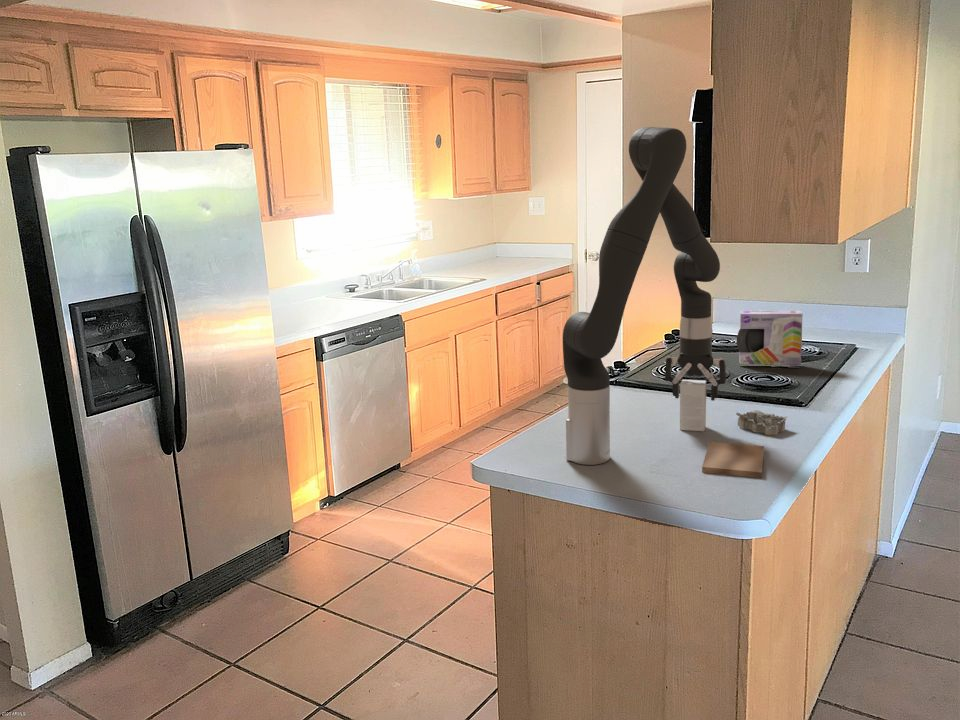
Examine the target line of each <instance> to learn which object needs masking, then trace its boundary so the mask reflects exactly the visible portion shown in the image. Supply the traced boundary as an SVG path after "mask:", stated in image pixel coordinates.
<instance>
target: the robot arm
mask: <svg viewBox="0 0 960 720" xmlns="http://www.w3.org/2000/svg"><path fill="white" fill-rule="evenodd" d="M686 153H687V139H686V137H685V134H684V132H682V130H680V129H679V128H674V127H673V128H672V127H658V126H657V127H656V126H646V127H641V128H639V129H637V130H636V131H635V132H633V134H632V136H630V140H629V144H628V154H629V159H630V161H631V163H632V165H633V167H634V169H635V171H636V173H637V174H638V176H639V177H640V179H641V181H642V183H641V184H640V187H639V188H638V190H637V191H636V192H635V194H634V195H633V196H632V197H631V198H630V199H629V200H628V201H627V202H626V203H625V205H623V206H622V208H621V209H620V210H619V211H617V213H616V214H615V215H614V217H613V218H612V220H611V221H610V223H609V225H608V227H607V230H606V233H605V235H604V237H603V241H602V244H601V247H600V249H599V254H598V255H599V257H598V288H597V289H598V290H597V294H596V297H595V300H594V303H593V304H592V305H593V306H592V308H591V311H590V312H586V311H578V312H575V313H574V314H572V315H571V316H570V317H568V318H567V320H566V322H565V323H564V326H563V331H562V355H563V367H564V369H563V370H564V373H565V375H566V378H567V399H568V401H567V405H568V407H567V409H568V416H567V419H565V441H566V442H565V444H566V445H565V446H566V447H565V450H566V451H565V452H566V458H565V459H566V461H571V462H573V463H575V464H579V465H588V466H589V465H590V466H592V465H593V466H595V465H600V464H605V463H607V462H608V461H609V460H610V459H611V458H610V457H611V435H610V434H611V414H610V413H611V410H610V409H611V408H610V407H611V405H610V404H611V403H610V402H611V400H610V399H611V397H610V395H611V393H610V391H611V389H610V388H611V386H610V385H611V384H610V383H611V382H610V381H611V380H610V379H611V377H610V373H609V371H608V370H607V368H606V366H605V365H604V362H603V361H602V359H603V358H605V357H606V356H607V355H609V354H610V353H611V352H612V350H613V348H614V347H615V344H616V342H617V339H618V336H619V331H620V329H621V324H622V320H623V316H624V313H625V309H626V306H627V305H626V304H627V302H628V300H629V297H630V294H631V291H632V288H633V285H634V282H635V280H636V277H637V274H638V271H639V268H640V265H641V263H642V261H643V259H644V256H645V253H646V251H647V247H648V244H649V243H650V240H651V236H652V232H653V231H654V228H655V225H656V223H657V220H658V218H659V215H660V216H661V219H662V221H663V223H664V225H665V228H666V230H667V234H668V236H669V239H670V242H671V244H672V247H673V248H674V249H675V250H676V251H678V252H679V253H678V254H677V255H676V257H675V258H674V259H675V260H674V261H673V262H674V263H673V274H674V278H675V281H676V285H677V289H678V293H679V296H680V321H679V356H678V357H677V356H675V357H674V356H672V355H667V358H666V359H665V371H664V372H665V374H664V380H665V381H666V382H669V383H671V384H672V395H673V397H674V398H675V399H679V398H680V380H681V379H682V378H683V377H684V376H685V375H688V376H697V377H702V376H704V377H705V379H707V380H708V381H709V382H710V383H711V386H710V388H711V389H710V396H711V398H710V401H713V402H714V401H715V399H717V398H718V395H719V385H725V384H726V381H727V371H726V370H727V369H726V368H727V367H726V358H725V357H720V358H713V320H712V301H713V300H712V295H711V293H710V292H708V291H706V290H704V289H701V288H700V287H699V286H698V283H697V282H702V283H708V282H712V281H714V280H715V279H717V277H718V276H719V273H720V269H721V263H720V258H719V256H718V254H717V252H716V250H715V249H714V248H713V246H712V244H711V243H710V242H709V240H708V239H707V237H705V235H704V234H703V232H702V230H701V226H700V223H699V220H698V217H697V215H696V212H695V210H694V209H693V206H692V205H691V204H690V202H689V201H688V200H687V198H686V197H685V196H684V195H683V194H682V192H681V191H680V189H679V188H678V187H676V185H675V184H674V182H675V180H676V178H677V176H678V173H679V172H680V170H681V167H682V165H683V163H684V160H685V156H686ZM676 363H677V364H678V365H679V367H680V368H681V369H680V370H679V371H678V373H676V375H675V376H674V375H672V373H673V371H672V370H673V367H674V366H675V365H676ZM714 365H715V366H716V368H717V369H719V377H717V376H716V375H715V374H714V372H713V370H712V369H711V367H712V366H714Z"/></svg>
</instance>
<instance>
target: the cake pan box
mask: <svg viewBox="0 0 960 720" xmlns="http://www.w3.org/2000/svg"><path fill="white" fill-rule="evenodd" d="M739 312H740V313H739V329H738V332H737V336H736V346H737V349H738V352H739V356H738V357H739V358H738V359H739V361H738V363H740V364H764V365H790V366H798V365H799V366H800V365H801V366H802V345H803V312H802V310H779V309H778V310H777V309H776V310H775V309H762V310H757V309H756V310H753V309H752V310H748V309H747V310H745V309H744V310H742V309H741V310H740V311H739Z"/></svg>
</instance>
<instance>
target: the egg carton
mask: <svg viewBox="0 0 960 720" xmlns="http://www.w3.org/2000/svg"><path fill="white" fill-rule="evenodd" d="M736 415H737V416H738V417H737V419H738V420H737V427H738V426H739V429H740V430H751V431H753V433H764V435H765V436H778V434H779V432H785V431H786V421H787V419H788V416H779V415H775V414H774V413H771V414H770V413H767V412H762V411H760V410H752V411H751V410H750V411H749V412H748V411H747V412H746V413H743V414H741V413H740V412H736Z"/></svg>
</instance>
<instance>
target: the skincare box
mask: <svg viewBox="0 0 960 720" xmlns="http://www.w3.org/2000/svg"><path fill="white" fill-rule="evenodd" d="M679 398H680V399H679V430H680V431H691V432H705V430H706V426H707V425H706V424H707V380H699V379H682V380H681V381H680V382H679Z"/></svg>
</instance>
